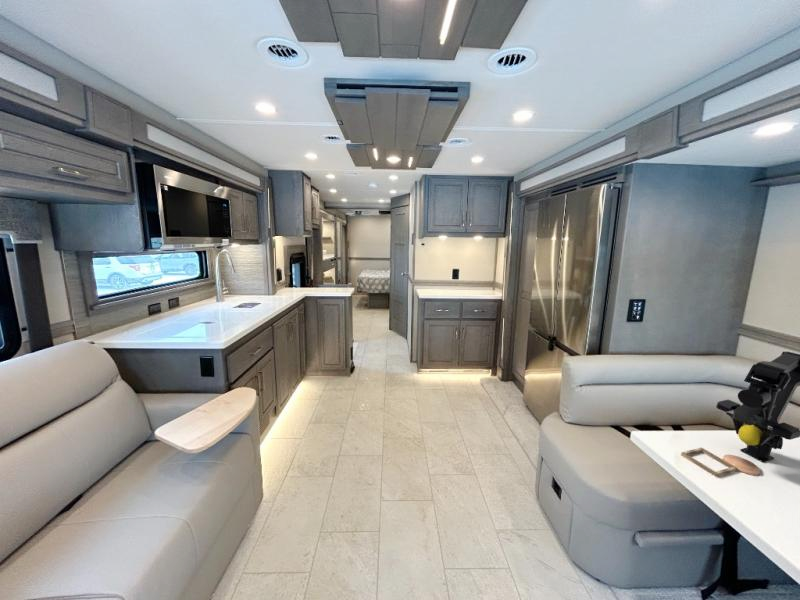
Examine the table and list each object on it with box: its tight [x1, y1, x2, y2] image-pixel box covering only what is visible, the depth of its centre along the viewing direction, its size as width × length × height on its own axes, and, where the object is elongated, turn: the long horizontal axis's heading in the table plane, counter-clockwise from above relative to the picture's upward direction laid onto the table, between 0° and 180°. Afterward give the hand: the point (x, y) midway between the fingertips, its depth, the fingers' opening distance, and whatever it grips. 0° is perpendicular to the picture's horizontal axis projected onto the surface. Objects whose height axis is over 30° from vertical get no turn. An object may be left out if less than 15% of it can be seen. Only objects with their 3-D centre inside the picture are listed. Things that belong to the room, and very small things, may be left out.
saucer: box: [722, 454, 761, 476], centre depth 109 cm, size 9×9×1 cm
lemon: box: [737, 424, 762, 446], centre depth 106 cm, size 6×6×8 cm
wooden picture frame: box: [680, 447, 738, 478], centre depth 110 cm, size 11×11×1 cm
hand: (748, 439), depth 107 cm, fingers closed on lemon, 5 cm apart
